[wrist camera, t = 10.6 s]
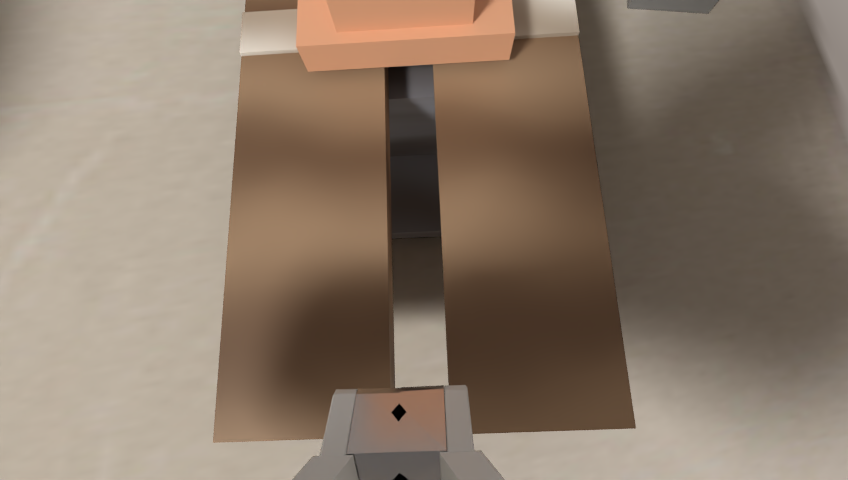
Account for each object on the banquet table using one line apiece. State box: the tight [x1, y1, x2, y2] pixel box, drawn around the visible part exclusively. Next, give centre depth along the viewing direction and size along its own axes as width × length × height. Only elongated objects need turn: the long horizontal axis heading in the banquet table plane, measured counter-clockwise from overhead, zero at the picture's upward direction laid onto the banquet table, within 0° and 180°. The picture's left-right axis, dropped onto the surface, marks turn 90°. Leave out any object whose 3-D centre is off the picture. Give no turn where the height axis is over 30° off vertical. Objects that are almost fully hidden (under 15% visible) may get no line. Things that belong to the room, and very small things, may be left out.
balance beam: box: [213, 0, 636, 443], centre depth 23 cm, size 32×16×9 cm, turn 2°
